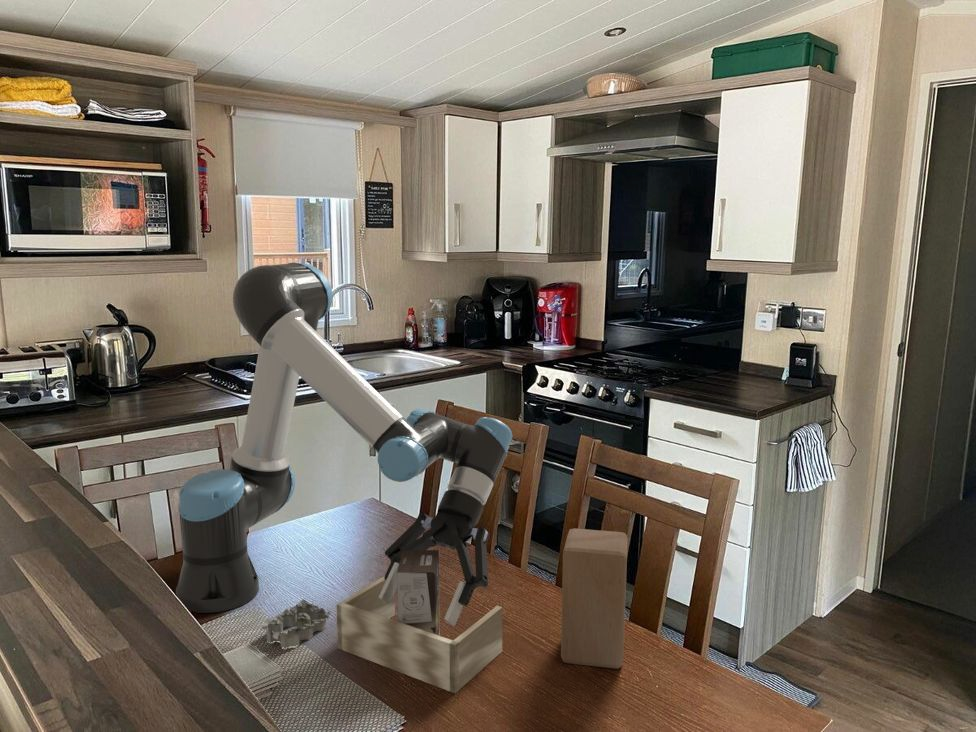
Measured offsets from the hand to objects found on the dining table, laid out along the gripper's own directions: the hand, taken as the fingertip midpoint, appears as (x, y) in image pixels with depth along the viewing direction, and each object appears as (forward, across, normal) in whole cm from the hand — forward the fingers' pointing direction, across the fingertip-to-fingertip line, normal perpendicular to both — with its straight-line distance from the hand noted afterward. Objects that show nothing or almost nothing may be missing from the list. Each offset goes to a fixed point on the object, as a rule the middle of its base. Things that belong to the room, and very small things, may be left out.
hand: (415, 611), depth 126 cm
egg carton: (+10, +22, -2) cm, 24 cm away
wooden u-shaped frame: (+4, 0, -6) cm, 8 cm away
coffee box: (+5, 0, -6) cm, 8 cm away
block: (-6, -25, -17) cm, 31 cm away
